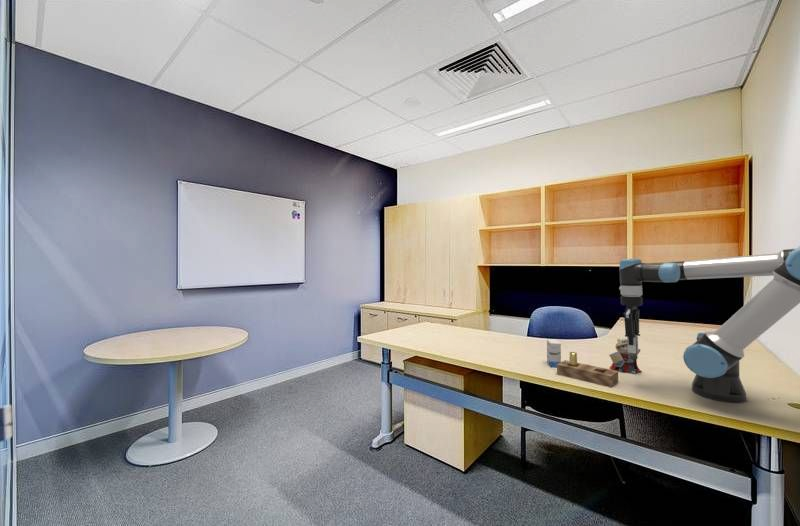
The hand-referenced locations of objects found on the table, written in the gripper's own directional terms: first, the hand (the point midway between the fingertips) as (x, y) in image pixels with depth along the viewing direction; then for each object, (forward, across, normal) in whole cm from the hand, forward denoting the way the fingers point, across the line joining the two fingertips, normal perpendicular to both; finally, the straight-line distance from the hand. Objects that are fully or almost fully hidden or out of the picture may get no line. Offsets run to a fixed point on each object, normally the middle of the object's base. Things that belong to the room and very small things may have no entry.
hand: (633, 351), depth 139 cm
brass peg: (+13, +5, -22) cm, 26 cm away
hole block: (+13, +5, -17) cm, 22 cm away
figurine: (+14, -17, -8) cm, 23 cm away
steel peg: (+3, 0, 0) cm, 3 cm away
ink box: (+13, -3, -35) cm, 37 cm away
